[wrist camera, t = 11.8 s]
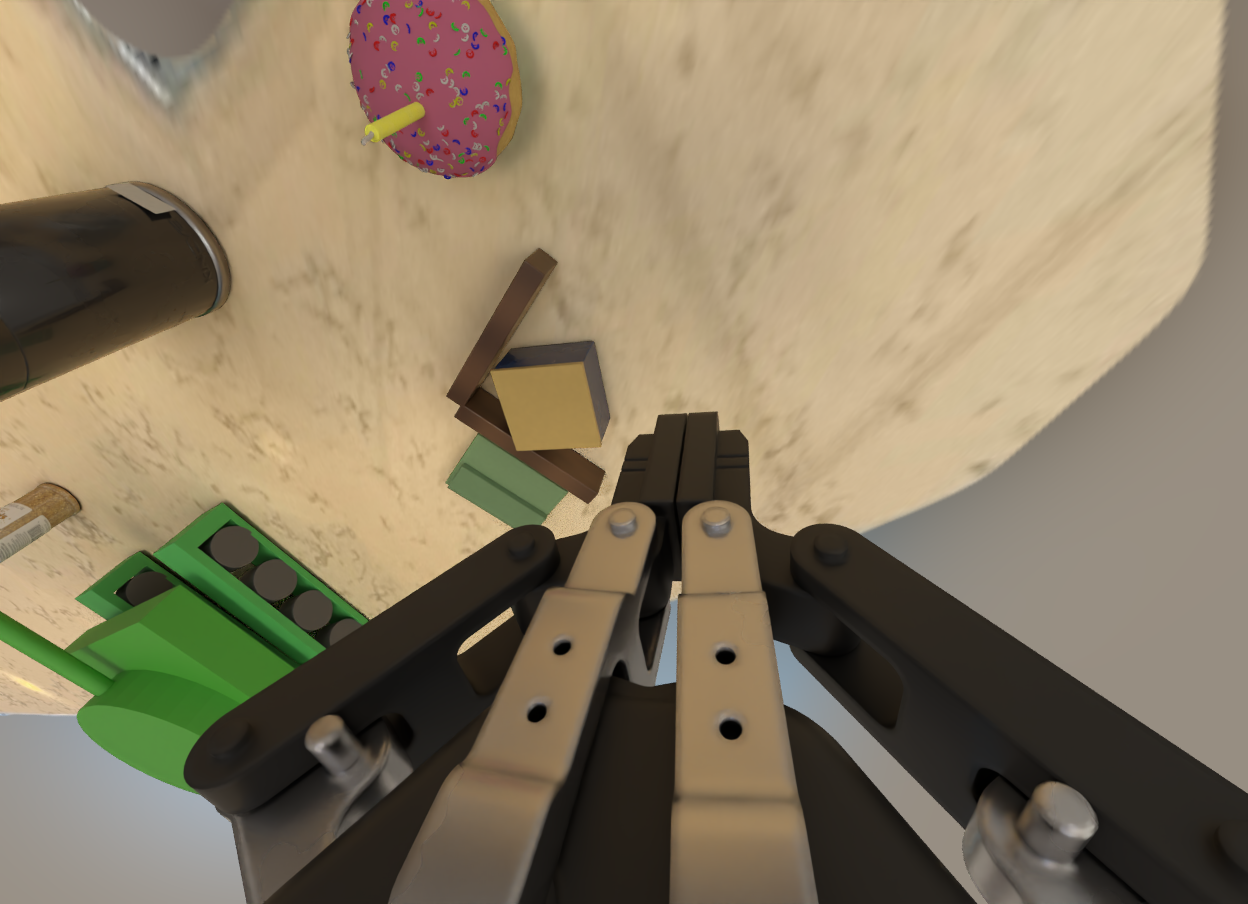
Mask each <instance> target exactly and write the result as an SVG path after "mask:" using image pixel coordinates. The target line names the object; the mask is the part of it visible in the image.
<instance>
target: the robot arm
mask: <svg viewBox="0 0 1248 904" xmlns="http://www.w3.org/2000/svg"><path fill="white" fill-rule="evenodd" d="M229 291H230V274H229V269H228V265H227V262H226V259H225V256H224V254H223V252H222V250H221V248H220V246H219V244H218V242H217V241H216V239H215V237H214V236H213V234H212V233H211V232H210V230H209V229H208V228H207V226H206V225H205V224H204V223H203V221H202V220H201V219H200V218H199V217H198V216H197V215H196V214H195V213H194V212H193V211H192V210H191V209H190V208H189V207H188V206H186V205H185V204H184V203H183V202H181V201H180V200H179V199H177V198H176V197H174V196H173V195H171V194H170V193H168V192H166V191H164V190H162V189H160V188H158V187H156V186H153V185H150V184H146V183H142V182H124V183H118V184H112V185H107V186H106V187H104V188H99V189H93V190H87V191H81V192H73V193H66V194H60V195H54V196H48V197H42V198H36V199H30V200H24V201H18V202H11V203H5V204H0V402H2V401H4V400H6V399H9V398H11V397H13V396H15V395H17V394H19V393H22V392H24V391H26V390H29V389H31V388H33V387H35V386H38V385H40V384H42V383H45V382H47V381H49V380H52V379H54V378H56V377H59V376H61V375H63V374H65V373H68V372H70V371H72V370H75V369H77V368H79V367H82V366H84V365H86V364H89V363H91V362H93V361H96V360H98V359H100V358H102V357H105V356H107V355H109V354H112V353H114V352H116V351H119V350H121V349H123V348H126V347H128V346H130V345H132V344H135V343H137V342H139V341H142V340H144V339H146V338H149V337H151V336H153V335H156V334H158V333H160V332H162V331H165V330H167V329H170V328H172V327H175V326H177V325H179V324H181V323H184V322H186V321H188V320H190V319H193V318H196V317H201V316H204V315H206V314H208V313H211V312H213V311H215V310H217V309H219V308H220V307H221V306H222V305H223V304H224V303H225V301H226V300H227V297H228V295H229ZM624 460H625V461H624V462H623V465H622V469H621V470H622V471H621V472H620V476H619V479H618V483H617V486H616V489H615V493H614V496H613V500H612V503H611V506H609V507H607V508H605V509H603V510H602V511H600V512H599V513H598V514H597V515H596V516H595V518H594V519H593V521H592V523H591V526H590V528H589V530H588V531H586V532H583V533H580V534H577V535H573V536H569V537H565V538H561V539H557V540H555V537H554V534H553V533H552V531H551V530H550V529H548V528H546V527H544V526H541V525H533V524H531V525H524V526H520V527H516V528H514V529H512V530H510V531H508V532H506V533H505V534H503V535H501V536H500V537H498V538H497V539H495V540H494V541H492V542H491V543H489V544H487V545H486V546H484V547H483V548H481V549H480V550H478V551H477V552H475V553H474V554H472V555H470V556H469V557H467V558H466V559H464V560H463V561H461V562H460V563H458V564H457V565H455V566H453V567H452V568H450V569H449V570H447V571H446V572H444V573H443V574H441V575H440V576H438V577H436V578H435V579H433V580H432V581H430V582H429V583H427V584H426V585H424V586H423V587H421V588H419V589H418V590H416V591H415V592H413V593H412V594H410V595H409V596H407V597H406V598H404V599H402V600H401V601H399V602H398V603H396V604H395V605H393V606H392V607H390V608H389V609H387V610H385V611H384V612H382V613H381V614H379V615H378V616H376V617H375V618H373V619H371V620H370V621H368V622H367V623H365V624H364V625H362V626H361V627H359V628H358V629H356V630H354V631H353V632H351V633H350V634H348V635H347V636H345V637H344V638H342V639H341V640H339V641H337V642H336V643H334V644H333V645H331V646H330V647H328V648H327V649H325V650H324V651H322V652H320V653H319V654H317V655H316V656H314V657H313V658H311V659H310V660H308V661H307V662H305V663H303V664H302V665H300V666H299V667H297V668H296V669H294V670H293V671H291V672H290V673H288V674H286V675H285V676H283V677H282V678H280V679H279V680H277V681H276V682H274V683H273V684H271V685H269V686H268V687H266V688H265V689H263V690H262V691H260V692H259V693H257V694H256V695H254V696H252V697H251V698H249V699H248V700H246V701H245V702H243V703H242V704H240V705H238V706H237V707H235V708H234V709H232V710H231V711H229V712H228V713H226V714H225V715H223V716H222V717H221V718H219V719H218V720H217V721H216V722H214V723H213V724H212V725H211V726H210V727H209V728H208V729H207V730H206V731H205V732H204V733H203V734H202V735H201V736H200V738H199V739H198V740H197V742H196V743H195V744H194V746H193V747H192V749H191V751H190V752H189V754H188V757H187V759H186V762H185V765H184V771H183V775H184V780H185V782H186V783H187V784H188V785H189V786H190V787H191V788H192V789H194V790H195V791H196V792H197V793H199V794H200V795H201V796H203V797H204V798H205V799H207V800H208V801H209V802H210V803H212V804H213V805H215V808H216V810H217V811H218V812H219V813H220V814H221V815H222V816H223V817H225V818H226V819H227V820H229V821H230V822H231V823H232V828H233V833H234V838H235V844H236V849H237V854H238V860H239V864H240V870H241V876H242V881H243V886H244V891H245V897H246V902H247V904H977V903H976V902H975V901H974V899H973V898H972V897H971V896H970V895H969V894H968V893H967V891H966V890H965V889H964V888H963V887H962V886H961V884H960V883H959V882H958V881H957V880H956V879H955V878H954V876H953V875H952V874H951V873H950V872H949V870H948V869H947V868H946V867H945V866H944V865H943V864H942V862H941V861H940V860H939V859H938V858H937V857H936V856H935V854H934V853H933V852H932V851H931V850H930V848H929V847H928V846H927V845H926V844H925V843H924V842H923V840H922V839H921V838H920V837H919V836H918V835H917V833H916V832H915V831H914V830H913V829H912V828H911V827H910V825H909V824H908V823H907V822H906V821H905V820H904V818H903V817H902V816H901V815H900V814H899V813H898V811H897V810H896V809H895V808H894V807H893V806H892V805H891V803H890V802H889V801H888V800H887V799H886V797H885V796H884V795H883V794H882V793H881V792H880V790H878V788H877V787H876V786H875V785H874V784H873V782H872V781H871V780H870V779H869V778H868V777H867V775H866V774H865V773H864V772H863V771H862V770H861V768H860V767H859V766H858V765H857V764H856V763H855V761H854V760H853V759H852V758H851V757H850V756H849V755H848V753H847V752H846V751H845V750H844V749H843V748H842V746H841V745H840V744H839V743H838V742H837V741H836V740H835V739H834V738H833V737H832V736H831V735H830V734H829V733H827V732H826V731H825V730H824V729H823V728H822V727H820V726H819V725H818V724H817V723H815V722H814V721H812V720H811V719H810V718H808V717H807V716H805V715H803V714H801V713H800V712H798V711H796V710H795V709H793V708H790V707H788V706H786V705H784V704H783V698H782V691H781V685H780V679H779V673H778V666H777V660H776V654H775V648H774V642H773V640H776V641H779V642H782V643H785V644H788V645H790V649H791V651H792V653H793V655H794V657H795V658H796V659H797V660H798V661H799V662H800V663H801V664H802V665H803V666H804V667H805V668H806V669H807V670H808V671H809V672H810V673H811V674H812V675H813V676H814V677H815V678H816V679H817V680H818V681H819V682H820V683H821V684H822V685H823V686H824V687H825V689H826V690H827V691H828V692H829V693H830V694H831V695H832V696H833V697H834V698H836V700H837V701H838V702H839V703H840V704H841V705H842V706H843V707H844V708H845V709H846V710H847V711H848V712H849V713H850V714H851V715H852V716H853V717H854V718H855V719H856V720H857V721H858V722H859V723H860V724H861V725H862V726H863V727H864V728H865V729H866V730H867V731H868V732H869V733H870V734H871V735H872V736H873V737H874V738H875V739H876V740H877V741H878V742H879V743H880V744H881V745H882V746H883V747H884V748H885V749H886V750H887V751H888V752H889V753H890V754H891V755H892V756H893V757H894V758H895V759H896V760H897V761H898V762H899V763H900V764H901V766H903V768H904V769H905V770H907V771H908V773H909V774H910V775H911V776H912V777H913V778H914V779H915V780H916V781H917V782H918V783H919V784H920V785H921V786H922V787H923V788H924V789H925V790H926V791H927V792H928V793H929V794H930V795H931V796H932V797H933V798H934V799H935V800H936V801H937V802H938V803H939V804H940V805H941V806H942V807H943V808H944V809H945V810H946V811H947V812H948V813H949V814H950V815H951V816H952V817H953V818H954V819H955V820H956V821H957V822H958V823H959V824H960V825H961V826H962V827H963V828H964V829H965V832H964V836H963V841H962V843H963V844H962V850H963V856H964V861H965V864H966V867H967V870H968V873H969V875H970V877H971V879H972V881H973V883H974V884H975V886H976V888H977V889H978V891H979V892H980V893H981V895H982V896H983V898H984V899H985V900H986V901H987V903H988V904H1248V793H1246V792H1245V791H1243V790H1242V789H1240V788H1239V787H1237V786H1236V785H1234V784H1232V783H1231V782H1230V781H1228V780H1226V779H1225V778H1224V777H1222V776H1221V775H1219V774H1218V773H1216V772H1215V771H1213V770H1212V769H1210V768H1209V767H1207V766H1206V765H1204V764H1203V763H1201V762H1200V761H1198V760H1197V759H1195V758H1194V757H1192V756H1190V755H1189V754H1188V753H1186V752H1185V751H1183V750H1182V749H1180V748H1179V747H1177V746H1176V745H1174V744H1173V743H1171V742H1170V741H1168V740H1167V739H1165V738H1164V737H1162V736H1161V735H1159V734H1158V733H1156V732H1155V731H1153V730H1152V729H1150V728H1149V727H1147V726H1146V725H1144V724H1143V723H1141V722H1140V721H1138V720H1137V719H1135V718H1134V717H1132V716H1131V715H1129V714H1128V713H1126V712H1125V711H1123V710H1122V709H1120V708H1119V707H1117V706H1116V705H1114V704H1113V703H1111V702H1110V701H1108V700H1107V699H1105V698H1104V697H1102V696H1101V695H1099V694H1098V693H1096V692H1095V691H1093V690H1092V689H1090V688H1089V687H1088V686H1086V685H1084V684H1083V683H1081V682H1080V681H1078V680H1077V679H1076V678H1074V677H1072V676H1071V675H1070V674H1068V673H1066V672H1065V671H1063V670H1062V669H1060V668H1059V667H1057V666H1056V665H1054V664H1053V663H1051V662H1050V661H1049V660H1047V659H1045V658H1044V657H1043V656H1041V655H1039V654H1038V653H1037V652H1035V651H1033V650H1032V649H1031V648H1029V647H1028V646H1026V645H1025V644H1023V643H1022V642H1020V641H1018V640H1017V639H1016V638H1014V637H1013V636H1011V635H1010V634H1008V633H1007V632H1005V631H1004V630H1002V629H1001V628H999V627H998V626H996V625H995V624H993V623H992V622H990V621H989V620H987V619H986V618H984V617H983V616H981V615H980V614H978V613H977V612H975V611H974V610H972V609H970V608H969V607H968V606H966V605H965V604H963V603H962V602H960V601H959V600H957V599H956V598H954V597H953V596H951V595H950V594H948V593H947V592H945V591H944V590H942V589H941V588H939V587H938V586H936V585H935V584H933V583H932V582H930V581H929V580H927V579H926V578H924V577H923V576H921V575H920V574H918V573H917V572H915V571H914V570H912V569H911V568H909V567H908V566H906V565H905V564H904V563H902V562H901V561H899V560H897V559H896V558H895V557H893V556H891V555H890V554H888V553H887V552H886V551H884V550H883V549H881V548H880V547H878V546H877V545H875V544H874V543H872V542H870V541H869V540H868V539H866V538H864V537H863V536H862V535H860V534H859V533H857V532H855V531H854V530H852V529H849V528H847V527H844V526H840V525H835V524H816V525H811V526H808V527H806V528H803V529H802V530H800V531H799V532H797V533H796V534H795V536H794V537H792V536H788V535H784V534H780V533H777V532H774V531H771V530H769V529H767V528H766V527H764V526H763V525H761V524H760V523H759V522H758V521H757V520H756V519H755V517H754V516H753V514H752V511H751V497H750V472H749V446H748V440H747V439H746V438H745V436H744V435H743V434H742V433H741V432H740V430H726V431H719V419H718V412H700V413H689V414H688V415H687V413H683V414H665V415H658V418H657V422H656V427H655V431H654V434H643V435H638V437H637V438H636V439H635V440H634V441H633V442H632V443H631V444H630V445H629V446H628V448H627V452H626V455H625V459H624ZM672 581H682V592H681V594H679V595H678V611H677V612H678V613H677V675H676V679H677V680H676V682H675V683H669V684H663V685H658V686H655V681H656V676H657V672H658V667H659V663H660V657H661V653H662V648H663V644H664V639H665V634H666V630H667V625H668V620H669V615H670V610H671V606H670V595H671V588H672ZM510 607H511V608H512V611H513V613H514V616H512V617H511V618H510V619H508V620H507V621H506V622H504V623H503V624H501V625H500V626H499V627H497V628H496V629H495V630H493V631H492V632H491V633H489V634H488V635H487V636H485V637H484V638H483V639H481V640H480V641H479V642H477V643H476V644H475V645H473V646H472V647H471V648H469V649H468V650H467V651H465V652H464V653H462V654H460V655H457V653H458V650H459V648H460V646H461V645H462V643H463V642H464V641H465V640H466V639H467V638H469V637H470V636H471V635H473V634H474V633H475V632H477V631H478V630H480V629H481V628H482V627H484V626H485V625H486V624H488V623H489V622H490V621H492V620H493V619H495V618H496V617H497V616H499V615H500V614H501V613H503V612H504V611H505V610H507V609H508V608H510Z"/></svg>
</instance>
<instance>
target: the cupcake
mask: <svg viewBox="0 0 1248 904" xmlns="http://www.w3.org/2000/svg"><path fill="white" fill-rule="evenodd" d="M349 37H350V45H349V48H348V49H347V54H348V56H349V59H350V60H349V62H350V63H351V69H352V75H353V80H354V82H351V83H350V84H351V86H352V87H353V88H354V89H356V92H357V94H358V97H359V99H360V104H361V107H362V109H363V110H364V112H365V114H366V116H367V117H368V119H369V121H370V123H371V124H368V125H367V126H366V127H365V135H366V136H365V137H363V139H362V141H361V143H362V145H366V143H367V142H369V141H372V142H378V141H380V140H381V141H382V143H383V141H384V142H385V143H386V144H387V145H388V146H389V147H390V149H391V150H393V151H394V152H395V153H396V154H397V155H398V156H399V158H400V159H402V160H403V161H405V162H408V163H409V164H410V165H413V166H415V167H417V168H418V169H419V170H420V171H422V172H426V173H427V172H429V173H432V174H436V175H441V176H444V178H446V179H450V178H451V177H453V178H455V177H472V176H473V177H474V176H476V175H478V174H480V173H482V172H484V171H486V170H487V169H488V168H490V167H491V166H492V165H493V164H494V162H495V161H496V158H497V156H498V155H499V154H500V153H501V152H502V151H503V150H504V149H505V147H506V146H507V145H508V144H509V142H510V141H511V139H512V137H513V134H514V131H515V128H516V124H517V122H518V119H519V116H520V112H521V108H522V89H521V81H520V74H519V69H518V64H517V56H516V48H515V45H514V42H513V40H512V38H511V36H510V34H509V33H508V31H507V29H506V27H505V26H504V24H503V22H502V21H501V19H500V17H499V16H498V14H497V12H496V11H495V9H494V7H493V5H492V4H491V2H490V1H489V0H360V1H359V3H358V4H357V6H356V7H355V9H354V11H353V12H352V15H351V19H350V32H349V34H348V36H347V39H348V38H349ZM349 50H350V52H349ZM352 84H353V85H354V84H355V85H354V86H355V87H354V86H353V85H352ZM382 139H383V140H382ZM447 177H448V178H447Z"/></svg>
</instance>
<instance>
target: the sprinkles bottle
mask: <svg viewBox="0 0 1248 904" xmlns="http://www.w3.org/2000/svg"><path fill="white" fill-rule="evenodd" d="M79 510H80V507H79V504H78V502H77V500H76V499H75V498H74V497H73V496H72V495H71V494H69V493H68V492H67V491H66V490H64V489H62V488H60V487H58V486H55V485H52V484H41V485H39V486H38V487H37V488H36V489H34V490H33V491H31V492H30V493H28V494H26V495H24V496H23V497H21V498H19V499H18V500H16V501H14V502H13V503H10V504H8V505H6V506H4V507H3V508H1V509H0V563H1V562H3V561H4V560H6V559H7V558H9V557H10V556H12V555H14V554H15V553H17V552H18V551H20V550H21V549H23V548H24V547H26V546H27V545H29V544H30V543H32V542H33V541H35V540H36V539H38V538H39V537H41V536H42V535H44V534H45V533H47V532H48V531H50V529H52V528H53V527H55V526H56V525H58V524H59V523H61V522H62V521H64V520H65V519H67V518H68V517H70V516H72V515H75V514H77V513H78V512H79Z"/></svg>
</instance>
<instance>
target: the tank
mask: <svg viewBox="0 0 1248 904" xmlns="http://www.w3.org/2000/svg"><path fill="white" fill-rule="evenodd" d="M153 556H155V557H156V558H157V559H159V560H160V561H162V562H163V563H164V564H166V565H167V566H168V567H170V568H171V569H172V570H174V571H175V572H176V573H178V574H179V575H180V576H182V577H183V578H184V579H186V580H187V581H188V582H190V583H191V584H192V585H194V586H195V587H196V588H198V589H199V590H200V591H202V592H203V593H204V594H206V595H207V596H208V597H210V598H211V599H212V600H214V601H215V602H217V603H218V604H219V605H221V606H222V607H223V608H225V609H226V610H227V611H229V612H230V613H231V614H233V615H234V616H235V617H237V618H238V619H239V620H241V621H242V622H243V623H245V624H246V625H247V626H249V627H250V628H251V629H253V630H254V631H255V632H257V633H258V634H259V635H261V636H262V637H263V638H265V639H266V640H267V641H269V642H270V643H271V644H273V645H274V646H276V647H277V648H278V649H280V650H281V651H282V652H284V653H285V654H286V655H285V654H284V653H282V652H281V651H279V650H278V649H277V648H275V647H274V646H272V645H271V644H270V643H268V642H267V641H265V640H264V639H262V638H261V637H260V636H258V635H257V634H255V633H254V632H253V631H251V630H250V629H248V628H247V627H245V626H244V625H243V624H241V623H240V622H238V621H237V620H236V619H234V618H233V617H231V616H230V615H228V614H227V613H226V612H224V611H223V610H221V609H220V608H218V607H217V606H216V605H214V604H213V603H211V602H210V601H209V600H207V599H206V598H204V597H203V596H201V595H200V594H199V593H197V592H196V591H194V590H193V589H192V588H190V587H189V586H187V585H186V584H184V583H183V582H182V581H180V580H179V579H177V578H176V577H175V576H173V575H172V574H170V573H169V572H167V571H166V570H165V569H163V568H162V567H160V566H159V565H158V564H156V563H155V562H153V561H152V560H151V559H149V558H148V557H146V556H145V555H144V554H142V553H141V552H140V551H139V552H138V553H136V554H134V555H132V556H131V557H129V558H127V559H126V560H124V561H123V562H121V563H120V564H119V565H117V566H116V567H115V568H114V569H112V570H111V571H110V572H108V573H107V574H106V575H105V576H103V577H102V578H101V579H99V580H98V581H97V582H96V583H94V584H93V585H92V586H91V587H89V588H88V589H87V590H85V591H84V592H83V593H82V594H80V595H79V596H78V597H76V598H75V599H76V600H77V601H79V602H80V603H82V604H83V605H85V606H86V607H88V608H89V609H91V610H92V611H94V612H95V613H97V614H98V615H100V616H102V617H103V618H105V619H106V620H107V621H105V622H103V623H101V624H99V625H97V626H95V627H93V628H91V629H89V630H87V631H86V632H85V633H84V634H82V635H81V636H80V637H79V638H78V639H76V640H75V641H74V642H73V643H72V644H71V645H69V646H68V647H67V648H66V649H65V650H63V649H61V648H60V647H58V646H56V645H55V644H53V643H51V642H50V641H48V640H47V639H45V638H43V637H42V636H40V635H38V634H37V633H35V632H33V631H32V630H30V629H29V628H27V627H25V626H24V625H22V624H20V623H19V622H17V621H15V620H14V619H12V618H11V617H9V616H7V615H6V614H4V613H2V612H1V611H0V640H1V641H3V642H5V643H7V644H8V645H10V646H12V647H13V648H15V649H17V650H18V651H20V652H22V653H24V654H25V655H27V656H29V657H30V658H32V659H34V660H35V661H37V662H39V663H41V664H42V665H44V666H46V667H47V668H49V669H51V670H52V671H54V672H56V673H57V674H59V675H61V676H63V677H64V678H66V679H68V680H69V681H71V682H73V683H74V684H76V685H78V686H80V687H81V688H83V689H85V690H86V691H88V692H90V693H91V694H93V695H95V696H94V697H93V698H92V699H90V700H89V701H88V702H87V703H86V704H85V705H84V706H83V707H82V708H81V709H80V710H79V711H78V714H77V720H78V723H79V725H80V726H81V728H82V729H83V731H84V732H85V733H86V734H87V735H88V736H89V737H90V738H91V739H92V740H93V741H94V742H96V743H97V744H98V745H99V746H101V747H102V748H103V749H105V750H106V751H108V752H109V753H111V754H112V755H113V756H115V757H116V758H118V759H120V760H121V761H123V762H125V763H127V764H128V765H130V766H132V767H134V768H136V769H138V770H139V771H142V772H143V773H145V774H147V775H149V776H152V777H154V778H156V779H158V780H161V781H163V782H165V783H168V784H170V785H173V786H176V787H178V788H181V789H183V790H186V791H189V792H192V793H196V794H199V793H197V792H196V791H195V790H194V789H192V788H191V787H190V786H189V785H188V784H187V783H186V782H185V780H184V775H183V771H184V765H185V762H186V759H187V757H188V754H189V752H190V751H191V749H192V747H193V746H194V744H195V743H196V742H197V740H198V739H199V738H200V736H201V735H202V734H203V733H204V732H205V731H206V730H207V729H208V728H209V727H210V726H211V725H212V724H213V723H214V722H216V721H217V720H218V719H219V718H221V717H222V716H223V715H225V714H226V713H228V712H229V711H231V710H232V709H234V708H235V707H237V706H238V705H240V704H242V703H243V702H245V701H246V700H248V699H249V698H251V697H252V696H254V695H256V694H257V693H259V692H260V691H262V690H263V689H265V688H266V687H268V686H269V685H271V684H273V683H274V682H276V681H277V680H279V679H280V678H282V677H283V676H285V675H286V674H288V673H290V672H291V671H293V670H294V669H296V668H297V667H299V666H300V665H302V664H303V663H305V662H307V661H308V660H310V659H311V658H313V657H314V656H316V655H317V654H319V653H320V652H322V651H324V650H325V649H327V648H328V647H330V646H331V645H333V644H334V643H336V642H337V641H339V640H341V639H342V638H344V637H345V636H347V635H348V634H350V633H351V632H353V631H354V630H356V629H358V628H359V627H361V626H362V625H364V624H365V623H367V622H368V620H367V619H366V618H365V617H363V616H362V615H361V614H360V613H358V612H357V611H356V610H355V609H353V608H352V607H351V606H350V605H348V604H347V603H346V602H345V601H343V600H342V599H341V598H340V597H339V596H337V595H336V594H335V593H334V592H332V591H331V590H330V589H329V588H327V587H326V586H325V585H324V584H322V583H321V582H320V581H319V580H317V579H316V578H315V577H314V576H312V575H311V574H310V573H309V572H308V571H306V570H305V569H304V568H303V567H301V566H300V565H299V564H298V563H296V562H295V561H294V560H293V559H291V558H290V557H289V556H288V555H286V554H285V553H284V552H283V551H281V550H280V549H279V548H278V547H276V546H275V545H274V544H273V543H272V542H270V541H269V540H268V539H267V538H265V537H264V536H263V535H262V534H260V533H259V532H258V531H257V530H255V529H254V528H253V527H252V526H250V525H249V524H248V523H247V522H245V521H244V520H243V519H242V518H241V517H239V516H238V515H237V514H236V513H234V512H233V511H232V510H231V509H230V508H228V507H227V506H226V505H225V504H224V503H221V504H219V505H218V506H216V507H214V508H212V509H211V510H209V511H207V512H206V513H204V514H202V515H201V516H200V517H198V518H197V519H196V520H195V521H193V522H192V523H191V524H190V525H188V526H187V527H186V528H185V529H184V530H182V531H181V532H180V533H179V534H177V535H176V536H175V537H174V538H172V539H171V540H170V541H169V542H167V543H166V544H165V545H164V546H163V547H161V548H160V549H159V550H158V551H156V552H155V553H154V554H153ZM249 563H252V564H254V565H255V567H253V568H251V569H249V570H247V571H246V572H245V573H244V574H243V575H242V576H241V578H240V580H238V579H237V578H235V577H234V576H233V575H232V574H230V573H231V572H233V571H235V570H237V569H239V568H241V567H243V566H245V565H247V564H249ZM133 576H134V578H132V577H133ZM131 578H132V579H131ZM129 579H130V580H129ZM117 589H118V590H117ZM116 590H117V591H116ZM115 591H116V594H114V592H115ZM290 594H292V595H294V597H292V598H289V599H288V600H286V601H285V602H284V603H283V604H282V605H281V607H280V608H279V611H278V610H276V609H275V608H274V607H272V606H271V605H270V604H271V603H273V602H276V601H278V600H281V599H283V598H286V597H287V596H289V595H290ZM328 622H329V623H330V624H329V625H326V624H327V623H328ZM325 625H326V626H325ZM323 626H324V627H323ZM322 627H323V628H322ZM320 628H321V629H320ZM317 629H320V630H319V632H318V633H317V635H316V637H315V639H313V638H312V637H311V636H309V635H308V634H307V633H308V632H311V631H314V630H317ZM287 655H288V656H289V657H290V658H289V657H288V656H287ZM291 658H292V659H293V660H292V659H291ZM295 661H296V662H297V663H296V662H295ZM299 664H300V665H299ZM199 795H200V794H199Z"/></svg>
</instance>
